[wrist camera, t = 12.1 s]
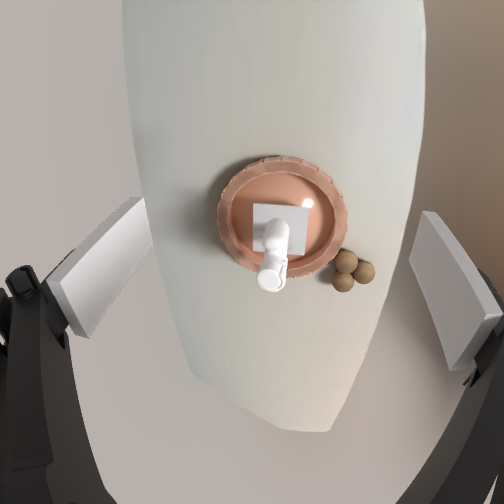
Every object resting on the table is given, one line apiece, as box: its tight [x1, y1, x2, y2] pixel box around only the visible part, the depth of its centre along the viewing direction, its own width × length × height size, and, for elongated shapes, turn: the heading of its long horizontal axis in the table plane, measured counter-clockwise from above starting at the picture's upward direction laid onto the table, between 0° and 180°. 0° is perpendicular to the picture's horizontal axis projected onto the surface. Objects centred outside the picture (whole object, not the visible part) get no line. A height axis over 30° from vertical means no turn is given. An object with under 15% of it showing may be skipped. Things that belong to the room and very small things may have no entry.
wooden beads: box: [332, 250, 375, 292], centre depth 44 cm, size 7×7×4 cm
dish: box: [216, 156, 348, 278], centre depth 42 cm, size 19×19×3 cm
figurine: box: [253, 203, 309, 292], centre depth 36 cm, size 7×9×15 cm
